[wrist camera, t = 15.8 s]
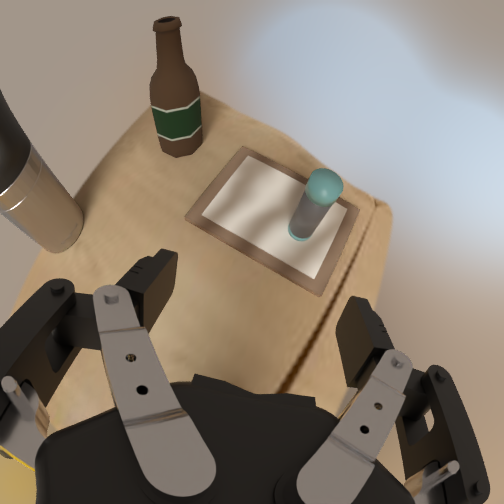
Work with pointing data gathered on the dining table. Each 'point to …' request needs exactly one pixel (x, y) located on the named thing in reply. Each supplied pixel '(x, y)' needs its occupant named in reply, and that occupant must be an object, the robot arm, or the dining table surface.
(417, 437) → the robot arm
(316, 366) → the dining table surface
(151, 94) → the beer bottle
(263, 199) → the writing board
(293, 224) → the teal-capped glass tube
